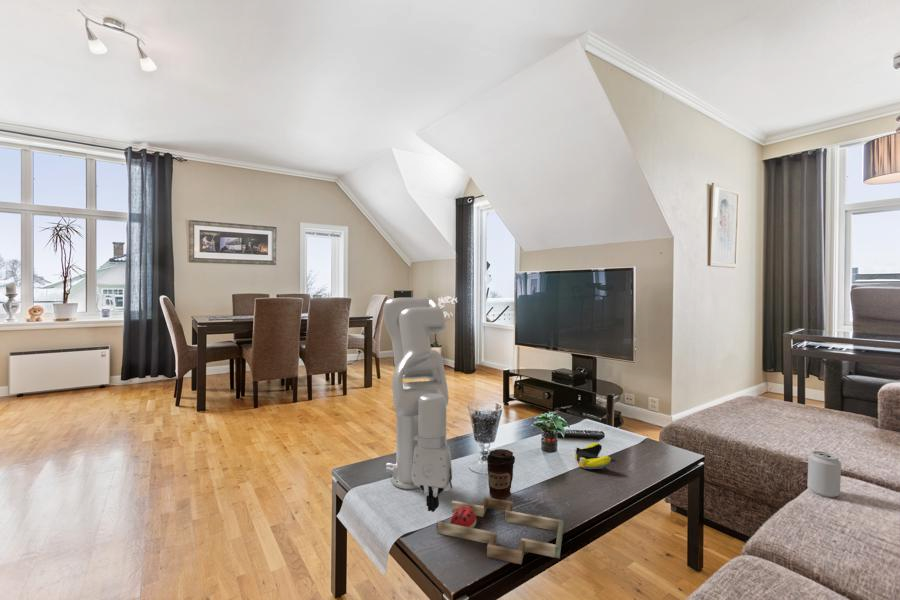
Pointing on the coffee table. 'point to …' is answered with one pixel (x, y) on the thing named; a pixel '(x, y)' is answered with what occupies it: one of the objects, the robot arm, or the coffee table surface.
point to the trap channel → (510, 516)
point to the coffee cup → (500, 473)
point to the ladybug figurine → (464, 517)
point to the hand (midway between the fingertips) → (432, 509)
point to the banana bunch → (591, 457)
